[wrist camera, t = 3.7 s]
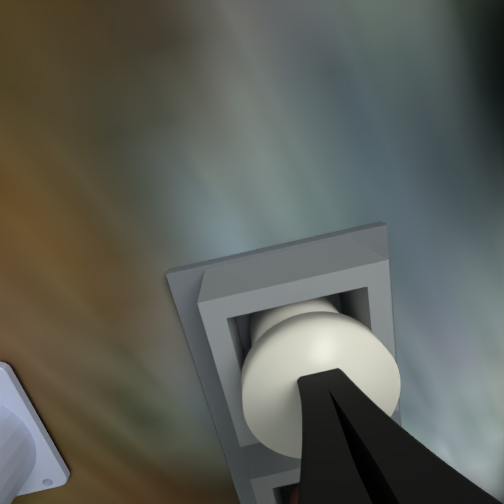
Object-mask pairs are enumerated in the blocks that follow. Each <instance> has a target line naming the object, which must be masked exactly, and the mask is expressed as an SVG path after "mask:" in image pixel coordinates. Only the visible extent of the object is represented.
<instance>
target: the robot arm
mask: <svg viewBox="0 0 504 504" xmlns="http://www.w3.org/2000/svg"><path fill="white" fill-rule="evenodd" d="M297 383H298V388H299V393H300V398H301V408H302V453H301V470H300V483H299V494H298V503H297V504H503V503H501V502H500V501H498V500H497V499H495V498H494V497H493V496H491V495H490V494H488V493H487V492H485V491H484V490H482V489H481V488H480V487H478V486H477V485H475V484H474V483H473V482H471V481H470V480H468V479H467V478H466V477H464V476H463V475H462V474H460V473H459V472H457V471H456V470H455V469H453V468H452V467H451V466H449V465H448V464H447V463H445V462H444V461H443V460H441V459H440V458H439V457H438V456H436V455H435V454H434V453H432V452H431V451H430V450H429V449H427V448H426V447H425V446H424V445H423V444H421V443H420V442H419V441H418V440H416V439H415V438H414V437H413V436H411V435H410V434H409V433H408V432H407V431H406V430H404V429H403V428H402V427H401V426H400V425H398V424H397V423H396V422H395V421H394V420H393V419H392V418H391V417H390V416H388V415H387V414H386V413H385V412H384V411H383V410H382V409H381V408H379V407H378V406H377V405H376V404H375V403H374V402H373V401H372V400H371V399H370V398H369V397H368V396H367V395H366V394H365V393H364V392H363V391H362V390H361V389H360V388H359V387H358V386H357V385H356V384H355V383H354V382H353V381H352V380H351V379H350V378H349V377H348V376H347V375H346V374H345V373H344V372H343V371H342V370H341V369H339V368H335V369H331V370H327V371H322V372H318V373H314V374H309V375H305V376H301V377H299V379H298V380H297ZM69 476H70V472H69V470H68V468H67V467H66V465H65V463H64V461H63V459H62V458H61V456H60V454H59V452H58V450H57V449H56V447H55V445H54V443H53V442H52V440H51V438H50V436H49V434H48V433H47V431H46V429H45V427H44V426H43V424H42V422H41V420H40V418H39V417H38V415H37V413H36V411H35V409H34V408H33V406H32V404H31V402H30V401H29V399H28V397H27V395H26V393H25V392H24V390H23V388H22V386H21V385H20V383H19V381H18V379H17V377H16V376H15V374H14V372H13V370H12V368H11V367H10V366H9V365H8V364H6V363H4V362H0V504H11V503H12V501H13V500H14V498H15V497H16V496H20V495H24V494H28V493H32V492H37V491H41V490H45V489H50V488H54V487H58V486H61V485H64V484H65V483H66V482H67V480H68V478H69Z"/></svg>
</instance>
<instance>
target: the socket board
mask: <svg viewBox="0 0 504 504" xmlns="http://www.w3.org/2000/svg"><path fill="white" fill-rule="evenodd" d="M166 277H167V280H168V283H169V286H170V289H171V292H172V295H173V298H174V301H175V304H176V307H177V311H178V314H179V317H180V320H181V323H182V326H183V329H184V332H185V335H186V338H187V341H188V344H189V347H190V351H191V354H192V357H193V360H194V363H195V366H196V369H197V372H198V375H199V378H200V381H201V384H202V387H203V391H204V394H205V397H206V400H207V403H208V406H209V409H210V412H211V415H212V418H213V421H214V424H215V427H216V431H217V434H218V437H219V440H220V443H221V446H222V449H223V452H224V455H225V458H226V461H227V464H228V467H229V471H230V474H231V477H232V480H233V483H234V486H235V489H236V492H237V495H238V498H239V501H240V504H290V498H291V495H292V493H293V491H294V489H295V488H296V487H297V485H298V484H299V483H300V470H301V459H300V458H293V457H289V456H285V455H282V454H280V453H277V452H275V451H273V450H271V449H269V448H268V447H266V446H265V445H263V444H262V443H261V442H260V441H259V440H258V439H257V438H256V437H255V436H254V434H253V433H252V432H251V430H250V429H249V427H248V425H247V423H246V420H245V417H244V412H243V403H242V385H241V375H242V368H243V365H244V361H245V359H246V357H247V354H248V352H249V351H250V349H251V348H252V347H251V339H250V331H249V322H250V317H251V313H252V312H257V311H261V310H266V309H270V308H274V307H279V306H283V305H287V304H292V303H296V302H301V301H305V300H309V299H314V298H318V297H323V296H327V297H328V299H329V300H330V301H331V303H332V304H333V305H334V307H335V308H336V309H337V311H338V312H339V313H340V314H344V315H347V316H350V317H352V318H354V319H356V320H358V321H360V322H361V323H362V324H364V325H365V326H366V327H367V328H369V329H370V330H371V331H372V332H373V334H374V335H375V336H376V337H377V338H378V339H379V341H380V342H381V343H382V344H383V345H384V346H385V348H386V349H387V350H388V351H389V353H390V354H391V355H392V357H393V358H394V360H395V362H396V364H397V359H396V344H395V330H394V315H393V301H392V286H391V272H390V257H389V242H388V228H387V224H385V223H382V222H377V223H373V224H368V225H364V226H360V227H355V228H351V229H346V230H342V231H337V232H333V233H328V234H324V235H320V236H315V237H311V238H306V239H302V240H297V241H293V242H288V243H284V244H280V245H275V246H271V247H266V248H262V249H257V250H253V251H248V252H244V253H240V254H235V255H231V256H226V257H222V258H217V259H213V260H208V261H204V262H200V263H195V264H191V265H186V266H182V267H177V268H173V269H169V270H168V271H167V273H166ZM391 418H392V419H393V420H394V421H395V422H396V423H397V424H398V425H400V426H401V417H400V402H399V399H398V402H397V405H396V407H395V410H394V412H393V414H392V415H391Z"/></svg>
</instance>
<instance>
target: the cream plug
mask: <svg viewBox="0 0 504 504" xmlns="http://www.w3.org/2000/svg"><path fill="white" fill-rule="evenodd" d="M249 331H250V339H251V347H252V348H251V349H250V351H249V352H248V354H247V357H246V359H245V361H244V365H243V368H242V375H241V385H242V403H243V412H244V417H245V420H246V423H247V425H248V427H249V429H250V430H251V432H252V433H253V434H254V436H255V437H256V438H257V439H258V440H259V441H260V442H261V443H262V444H263V445H265V446H266V447H268V448H269V449H271V450H273V451H275V452H277V453H280V454H282V455H285V456H289V457H293V458H300V459H301V453H302V408H301V398H300V393H299V388H298V383H297V380H298V379H299V377H301V376H305V375H309V374H314V373H318V372H322V371H327V370H331V369H335V368H339V369H341V370H342V371H343V372H344V373H345V374H346V375H347V376H348V377H349V378H350V379H351V380H352V381H353V382H354V383H355V384H356V385H357V386H358V387H359V388H360V389H361V390H362V391H363V392H364V393H365V394H366V395H367V396H368V397H369V398H370V399H371V400H372V401H373V402H374V403H375V404H376V405H377V406H378V407H379V408H381V409H382V410H383V411H384V412H385V413H386V414H387V415H388V416H390V417H391V415H392V414H393V412H394V410H395V407H396V405H397V402H398V399H399V394H400V374H399V370H398V367H397V364H396V362H395V360H394V358H393V357H392V355H391V354H390V353H389V351H388V350H387V349H386V348H385V346H384V345H383V344H382V343H381V342H380V341H379V339H378V338H377V337H376V336H375V335H374V334H373V332H372V331H371V330H370V329H369V328H367V327H366V326H365V325H364V324H362V323H361V322H360V321H358V320H356V319H354V318H352V317H350V316H347V315H344V314H340V313H339V312H338V311H337V309H336V308H335V307H334V305H333V304H332V303H331V301H330V300H329V299H328V297H327V296H323V297H318V298H314V299H309V300H305V301H301V302H296V303H292V304H287V305H283V306H279V307H274V308H270V309H266V310H261V311H257V312H252V313H251V317H250V322H249Z"/></svg>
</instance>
